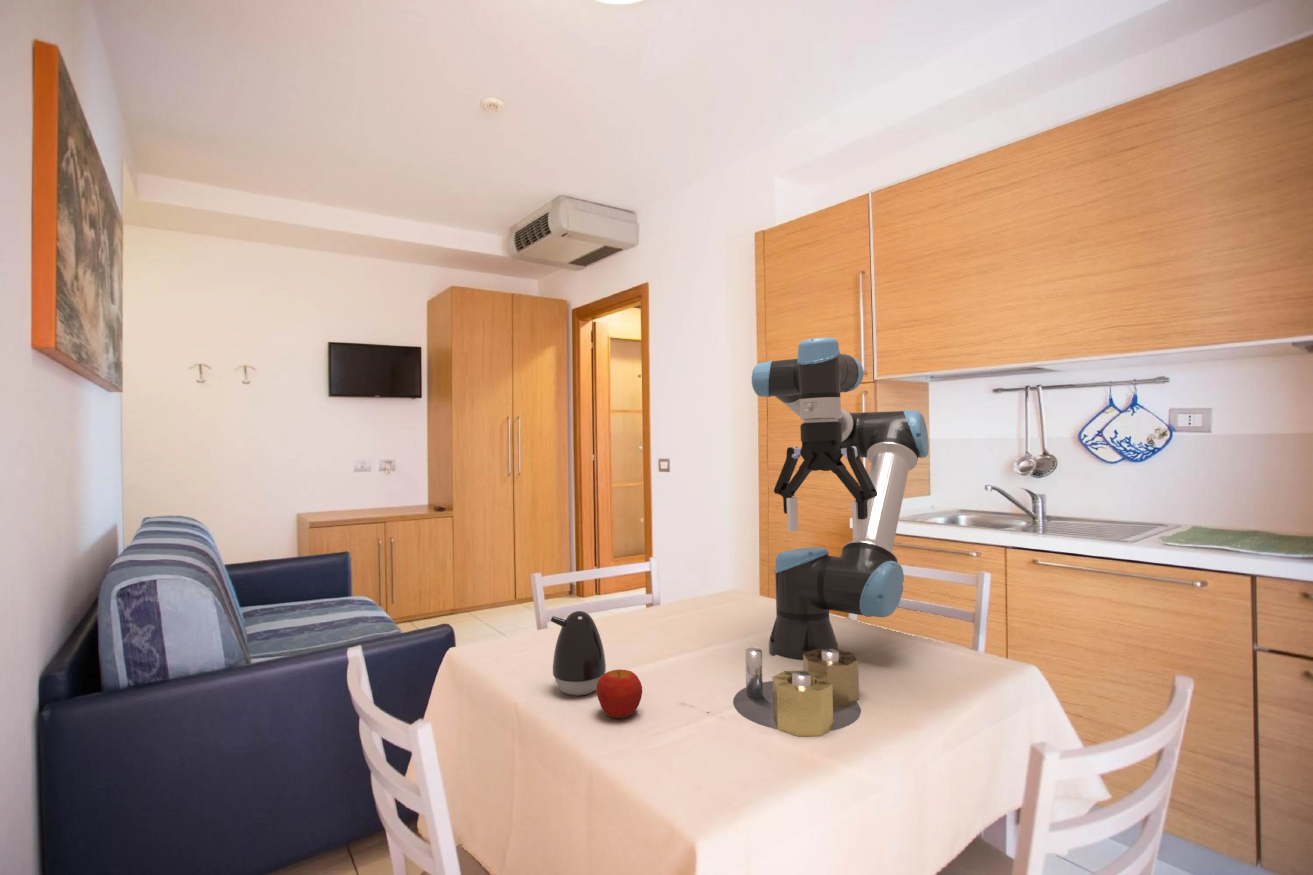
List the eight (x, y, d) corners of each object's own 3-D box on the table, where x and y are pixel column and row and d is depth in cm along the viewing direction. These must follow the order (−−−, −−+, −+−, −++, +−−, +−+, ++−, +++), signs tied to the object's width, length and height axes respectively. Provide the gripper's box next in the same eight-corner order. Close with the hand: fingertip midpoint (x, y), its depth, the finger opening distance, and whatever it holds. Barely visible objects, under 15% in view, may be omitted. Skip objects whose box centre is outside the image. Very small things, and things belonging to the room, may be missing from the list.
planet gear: (764, 723, 102) (763, 681, 102) (794, 707, 108) (793, 666, 108) (812, 741, 95) (811, 695, 95) (841, 722, 102) (840, 679, 102)
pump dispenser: (554, 681, 124) (553, 605, 124) (606, 679, 125) (604, 603, 125) (549, 702, 114) (548, 619, 114) (606, 699, 115) (605, 617, 115)
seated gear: (796, 695, 113) (795, 657, 113) (821, 682, 119) (820, 645, 119) (841, 710, 106) (840, 669, 107) (865, 694, 113) (865, 656, 113)
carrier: (707, 709, 109) (707, 659, 110) (778, 675, 125) (777, 632, 125) (818, 751, 94) (817, 692, 94) (883, 706, 109) (882, 656, 110)
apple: (637, 726, 103) (636, 679, 104) (591, 723, 105) (591, 677, 105) (645, 707, 111) (645, 663, 111) (603, 704, 112) (602, 661, 113)
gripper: (754, 423, 122) (758, 530, 123) (875, 418, 105) (879, 543, 105) (775, 423, 128) (779, 525, 128) (894, 418, 110) (898, 536, 110)
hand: (824, 533), depth 116 cm, fingers open, 13 cm apart
